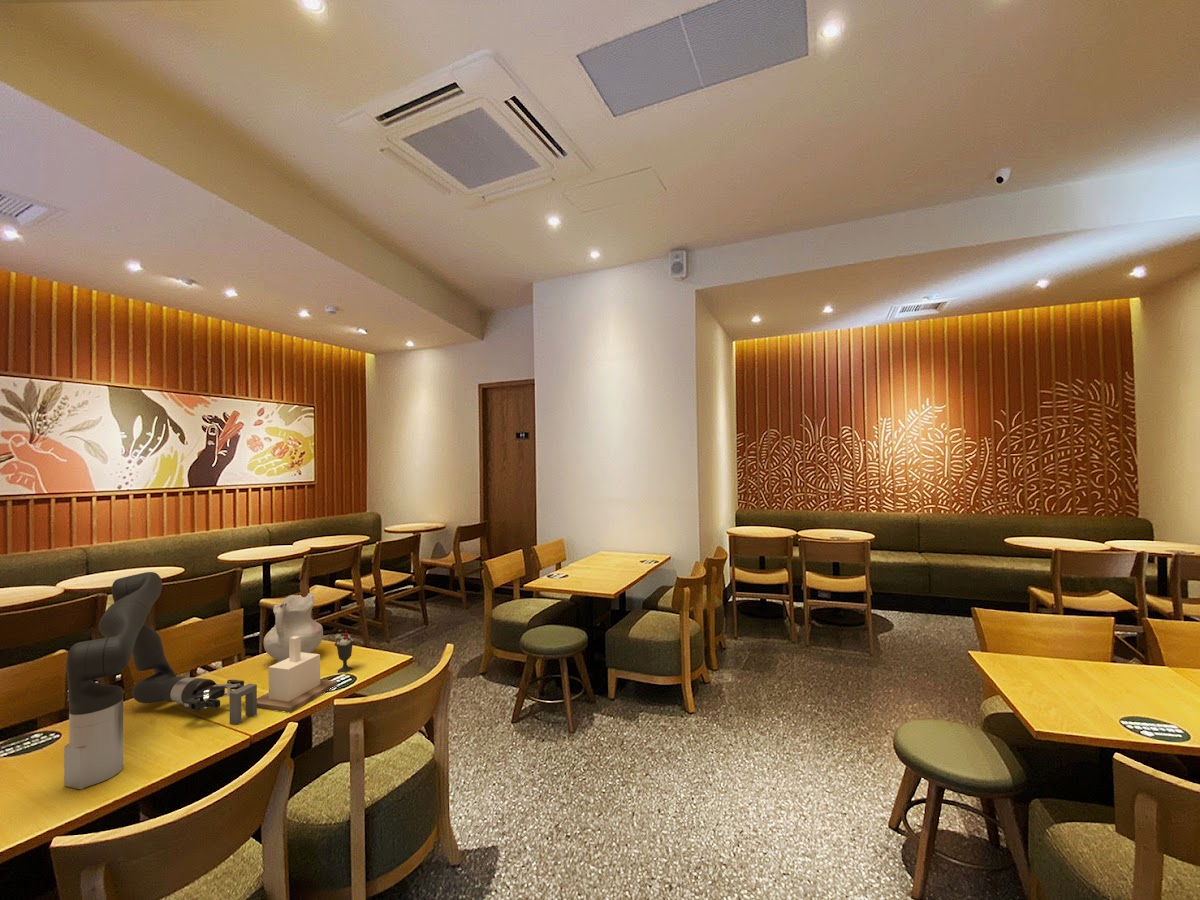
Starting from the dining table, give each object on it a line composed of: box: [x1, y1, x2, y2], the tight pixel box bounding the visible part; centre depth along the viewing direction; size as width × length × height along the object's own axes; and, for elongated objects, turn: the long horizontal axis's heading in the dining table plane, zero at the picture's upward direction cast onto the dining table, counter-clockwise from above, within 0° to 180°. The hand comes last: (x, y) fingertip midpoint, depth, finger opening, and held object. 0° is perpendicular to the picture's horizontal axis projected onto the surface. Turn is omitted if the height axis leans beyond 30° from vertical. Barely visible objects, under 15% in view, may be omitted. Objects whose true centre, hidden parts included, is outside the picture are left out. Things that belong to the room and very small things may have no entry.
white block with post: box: [268, 636, 321, 702], centre depth 158 cm, size 12×8×18 cm, turn 165°
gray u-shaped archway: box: [228, 683, 258, 726], centre depth 144 cm, size 6×3×9 cm, turn 165°
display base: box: [257, 678, 338, 714], centre depth 157 cm, size 18×16×2 cm
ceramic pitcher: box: [263, 592, 324, 664], centre depth 186 cm, size 22×20×25 cm
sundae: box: [333, 629, 356, 673], centre depth 177 cm, size 7×7×15 cm
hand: (233, 697), depth 145 cm, fingers open, 8 cm apart
